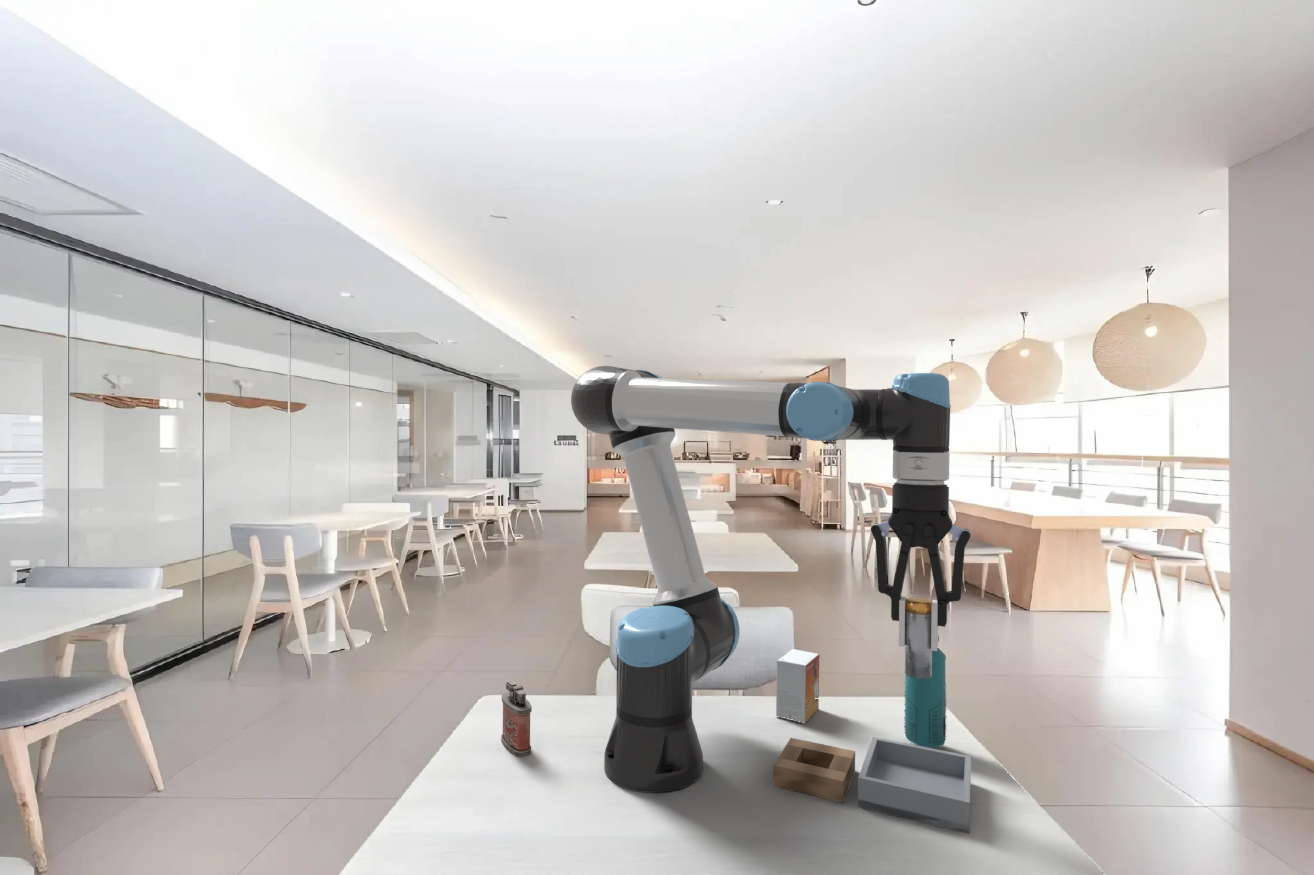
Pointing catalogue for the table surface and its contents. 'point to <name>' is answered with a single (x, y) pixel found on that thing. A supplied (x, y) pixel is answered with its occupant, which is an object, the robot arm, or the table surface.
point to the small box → (797, 685)
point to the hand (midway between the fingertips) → (918, 645)
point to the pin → (918, 638)
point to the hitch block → (815, 769)
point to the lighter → (516, 720)
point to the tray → (916, 783)
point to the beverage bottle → (927, 705)
